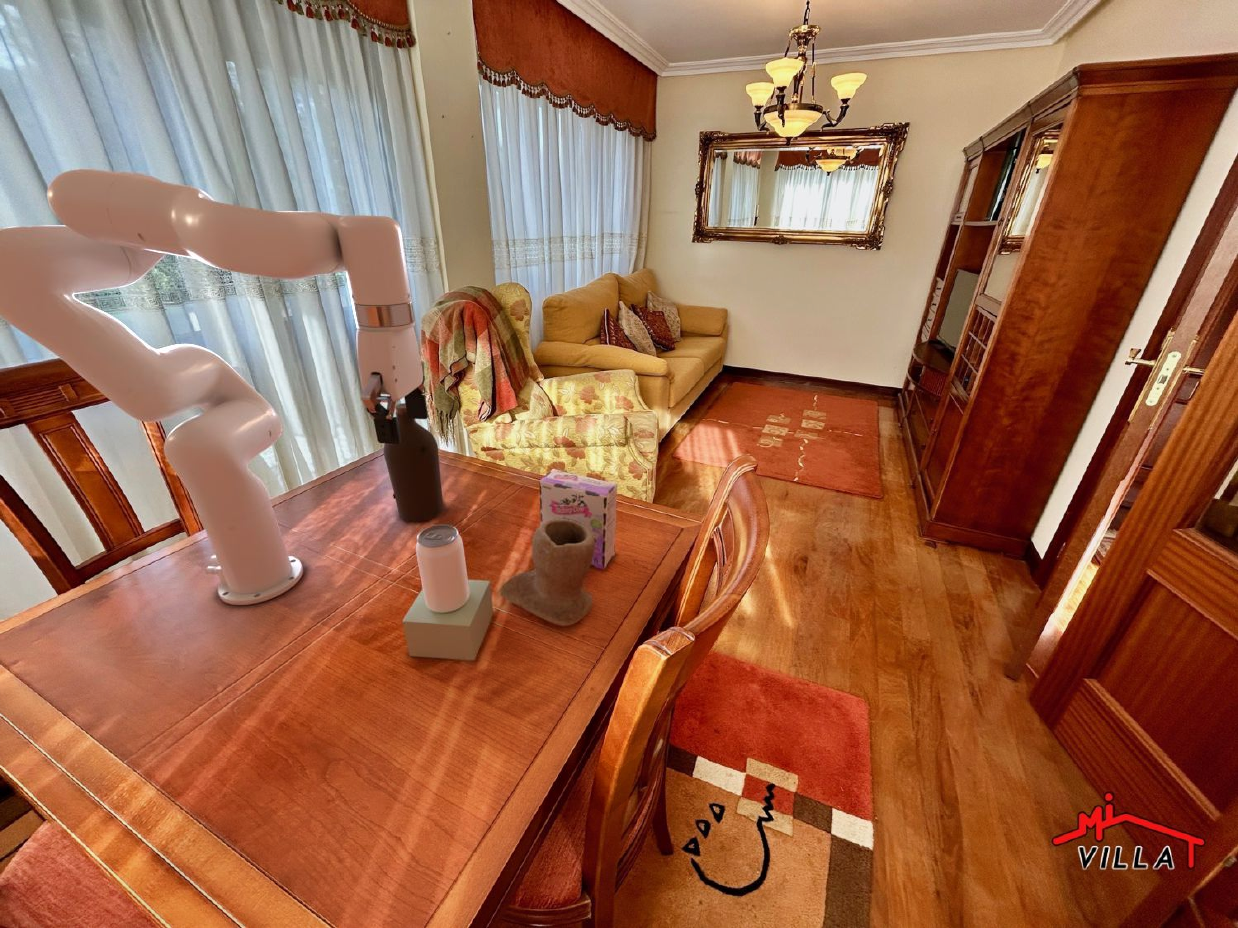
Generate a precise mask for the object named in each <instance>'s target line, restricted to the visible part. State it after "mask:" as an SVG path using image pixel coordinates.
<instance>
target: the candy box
mask: <svg viewBox="0 0 1238 928" xmlns="http://www.w3.org/2000/svg"><path fill="white" fill-rule="evenodd" d="M538 482H539V483H538V485H539V509H540V525H541V524H542V523H543V522H545V521H548V520H553V519H566V520H571V521H575V522H578V523H580V524H582V525H584V526H586V527H587V528H588V529H589V530H590V531H591V533H592V534H593V537H594V541H595V551H594V555H593V559H592V563H591V566H590V567H593V568H597V569H600V570H605V569H606V567H607V566H608V565H609V563H610V562H611V561H612V559H613V558H614V557H615V555H616V553H615V547H616V545H615V543H616V525H617V523H616V521H617V501H618V500H617V499H618V483H617V482H614V481H607V480H602V479H598V478H594V477H589V476H585V475H581V474H575V473H571V472H567V471H563V470H559V469H557V468H556V469H555V468H553V469H551V470H550V471H548V473H547V474H546V475H545V476H543V477H542V478H541V479H540V480H539V481H538Z"/></svg>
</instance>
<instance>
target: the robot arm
mask: <svg viewBox="0 0 1238 928" xmlns="http://www.w3.org/2000/svg"><path fill="white" fill-rule="evenodd" d="M47 187H48V188H47V191H46V197H47V203H48V204H49V207H50V209H51V211H52V213H53V214H54V215H55V217H56V218H57V219H58V220H59V221H60V222H61V223H62V224H63V225H61V224H60V225H23V226H22V225H21V226H20V225H19V226H9V227H2V228H0V317H1V318H2V319H3V320H4V321H6V322H7V323H8V324H10V325H11V326H12V327H14V328H15V329H17V330H18V331H20V332H21V333H23V334H24V335H26V336H27V337H29V338H30V339H32V340H34V341H36V342H37V343H38V344H40V345H41V346H43V347H45V348H46V349H47V350H49V351H50V352H52V353H53V354H54V355H56V356H57V357H58V358H59V359H60V360H62V361H63V362H64V363H66V364H67V365H68V366H69V367H70V368H71V369H72V370H73V371H74V372H76V373H77V374H78V375H79V376H81V377H82V378H83V379H84V380H85V381H87V382H88V383H89V384H90V385H91V386H92V387H94V389H96V390H97V391H98V392H100V393H101V394H102V395H103V396H104V397H106V398H107V399H108V400H109V401H111V402H112V404H114V405H115V406H116V407H118V408H119V409H121V411H123V412H124V413H125V414H127V415H128V416H130V417H132V418H133V419H136V420H137V421H140V422H143V423H158V422H159V423H160V422H163V421H166V420H169V419H172V418H174V417H177V416H179V415H182V414H184V413H186V412H188V411H190V410H193V409H194V408H196V407H198V408H200V410H202V411H203V412H200V413H198V414H196V415H194V416H191V417H190V418H188V419H186V420H185V421H183V422H181V423H179V424H178V425H177V426H175V427H174V428H173V429H172V430H171V431H170V432H169V434H168V435H167V436H166V438H165V440H164V443H163V453H164V456H165V459H166V461H167V462H168V464H169V466H170V468H171V469H172V470H173V472H174V473H175V475H177V476H178V478H179V480H180V481H181V482H182V484H183V485H184V487H185V489H186V490H187V492H188V494H189V496H190V499H191V501H192V502H193V505H194V507H195V510H196V512H197V514H198V517H199V518H200V520H201V523H202V526H203V528H204V530H205V533H206V536H207V538H208V541H209V543H210V545H211V548H212V550H213V553H214V555H212V556H210V558H209V560H208V565H209V566H207V567H206V569H205V574H206V575H213V576H214V575H216V576H217V575H218V577H219V580H220V582H219V584H218V586H217V594H218V596H219V598H220V600H222V602H224V603H226V604H228V605H229V604H230V605H234V606H246V605H247V606H248V605H254V604H258V603H263V602H266V601H268V600H271V599H274V598H276V597H278V596H280V595H282V594H284V593H285V592H287V591H289V590H291V588H293V587H294V586H295V585H296V584H297V583H298V582H299V581H300V579H301V578H302V576H303V574H304V567H303V563H302V561H301V560H300V559H298V558H297V557H295V556H291V555H289V553H288V550H287V547H286V544H285V541H284V538H283V535H282V532H281V529H280V526H279V522H278V519H277V517H276V513H275V511H274V507H273V505H272V501H271V498H270V495H269V493H268V490H267V488H266V485H265V484H264V482H263V481H262V480H261V479H260V478H259V477H258V476H257V475H256V474H254V473H253V472H252V471H251V470H250V469H249V466H248V464H249V463H250V462H251V461H252V460H254V459H255V458H256V457H257V456H258V455H260V454H262V453H263V452H265V451H266V450H268V449H269V448H271V447H272V446H273V445H275V444H276V442H277V441H278V440H279V439H280V438H281V436H282V433H283V422H282V420H281V417H280V416H279V414H278V412H277V411H276V409H275V408H274V407H273V406H272V405H271V404H270V402H268V401H267V399H266V398H264V396H263V395H261V394H260V393H259V392H258V391H257V390H256V389H255V388H254V387H253V386H252V385H251V384H250V383H249V382H248V381H247V380H246V379H245V378H244V377H243V376H242V375H240V374H239V372H237V370H235V369H234V368H233V367H232V366H231V365H230V364H229V363H228V362H226V360H224V359H223V358H222V357H221V356H220V355H218V354H216V353H215V352H213V351H212V350H210V349H208V348H205V347H202V346H199V345H196V344H192V343H191V344H190V343H177V344H173V345H172V344H171V345H169V346H165V347H162V348H158V349H157V348H153V347H152V346H150V345H148V343H146V342H145V341H144V340H143V339H141V338H140V337H139V336H138V335H136V334H135V333H134V332H133V331H132V329H130V328H129V327H128V326H127V325H126V324H124V323H123V322H122V321H120V320H119V319H117V318H115V316H113V315H111V314H108V313H107V312H105V311H104V310H100V309H99V308H96V307H94V306H92V305H90V304H87V303H85V302H83V301H81V300H79V299H77V298H76V297H75V295H76V294H85V293H91V292H99V291H105V290H114V289H119V288H125V287H127V286H130V285H133V284H135V283H136V282H138V281H139V280H141V279H142V278H143V277H144V276H145V275H146V274H148V273H149V272H150V271H151V270H152V269H153V268H154V267H155V266H156V265H157V264H158V263H159V262H160V261H161V260H162V259H164V257H166V256H167V255H174V256H179V257H186V258H189V259H194V260H195V259H196V260H198V261H199V262H201V263H204V264H206V265H208V266H211V267H213V268H216V269H219V270H223V271H226V272H231V273H237V274H243V275H249V276H256V277H262V278H267V279H268V278H269V279H274V280H275V279H276V280H284V281H296V280H298V281H299V280H303V279H304V280H305V279H308V278H313V277H318V276H324V275H329V274H334V273H335V274H336V273H342V272H345V275H346V281H347V286H348V290H349V291H348V292H349V295H350V300H351V305H352V311H353V315H354V319H355V325H356V329H357V330H356V354H357V355H356V356H357V365H358V371H359V372H358V373H359V378H360V384H361V389H362V390H361V391H362V393H361V395H360V399H361V401H362V403H363V405H364V406H365V410H366V412H367V413H368V414H369V416H370V418H371V419H372V420H373V424H374V430H375V434H376V439H377V442H378V443H379V444H384V443H386V444H399V443H400V442H401V438H400V432H399V426H398V421H397V417H396V416H395V411H396V408H395V406H396V405H397V402H399V401H400V400H402V399H404V403H405V404H406V410H407V416H408V418H410V419H415V420H427V419H428V418H429V412H428V405H427V397H426V395H425V394H426V387H425V380H426V376H425V374H424V373H425V362H424V361H423V360H422V358H421V354H420V349H419V348H420V347H419V343H418V339H417V335H416V332H415V327H416V319H415V313H414V312H415V311H414V305H413V301H412V300H413V299H412V293H411V284H410V278H409V272H408V271H409V270H408V266H407V265H408V264H407V257H406V251H405V244H404V239H403V238H404V237H403V233H402V232H403V231H402V229H401V226H400V224H399V223H398V221H397V220H396V219H394V218H393V217H391V216H383V215H366V214H365V215H363V214H361V215H360V214H359V215H357V214H356V215H339V214H333V213H328V212H323V211H301V210H300V211H296V210H295V211H294V210H283V211H282V210H281V211H280V210H279V211H277V210H267V209H261V208H260V209H259V208H254V207H249V206H248V207H247V206H242V205H235V204H230V203H224V202H219V201H215V200H214V198H212V197H211V196H210V195H209V194H208V193H207V192H205V191H204V190H202V189H200V188H198V187H195V186H191V185H186V184H185V185H184V184H178V183H173V182H166V181H163V180H162V179H159V178H157V177H154V176H151V175H148V174H146V173H145V174H144V173H139V172H138V173H137V172H127V171H117V170H116V171H115V170H105V169H94V168H78V169H70V170H67V171H66V170H65V171H64V172H61V173H59V174H58V175H56V176H55V177H54V178H53V179H52V180H51V181H50V183H49V185H48V186H47ZM381 403H387V405H386V407H385V406H384V405H382V404H381Z"/></svg>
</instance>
